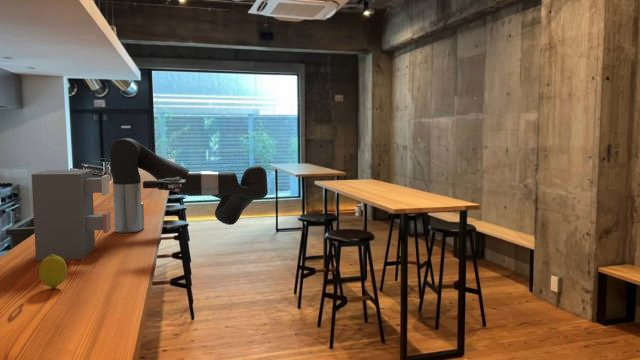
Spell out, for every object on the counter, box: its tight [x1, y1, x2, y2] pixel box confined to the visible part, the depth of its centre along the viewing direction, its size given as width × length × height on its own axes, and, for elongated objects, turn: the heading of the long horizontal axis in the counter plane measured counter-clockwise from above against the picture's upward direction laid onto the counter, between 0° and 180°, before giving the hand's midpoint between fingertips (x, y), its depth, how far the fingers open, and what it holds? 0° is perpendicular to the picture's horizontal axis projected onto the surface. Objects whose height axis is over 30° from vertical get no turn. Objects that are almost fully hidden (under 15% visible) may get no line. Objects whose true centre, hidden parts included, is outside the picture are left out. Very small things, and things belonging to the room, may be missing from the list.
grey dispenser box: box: [31, 169, 96, 262], centre depth 134 cm, size 12×14×24 cm
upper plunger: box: [85, 174, 110, 197], centre depth 135 cm, size 9×6×6 cm, turn 104°
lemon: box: [38, 254, 68, 289], centre depth 105 cm, size 6×6×8 cm
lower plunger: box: [86, 210, 112, 234], centre depth 136 cm, size 9×6×6 cm, turn 104°
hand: (143, 184), depth 138 cm, fingers closed
